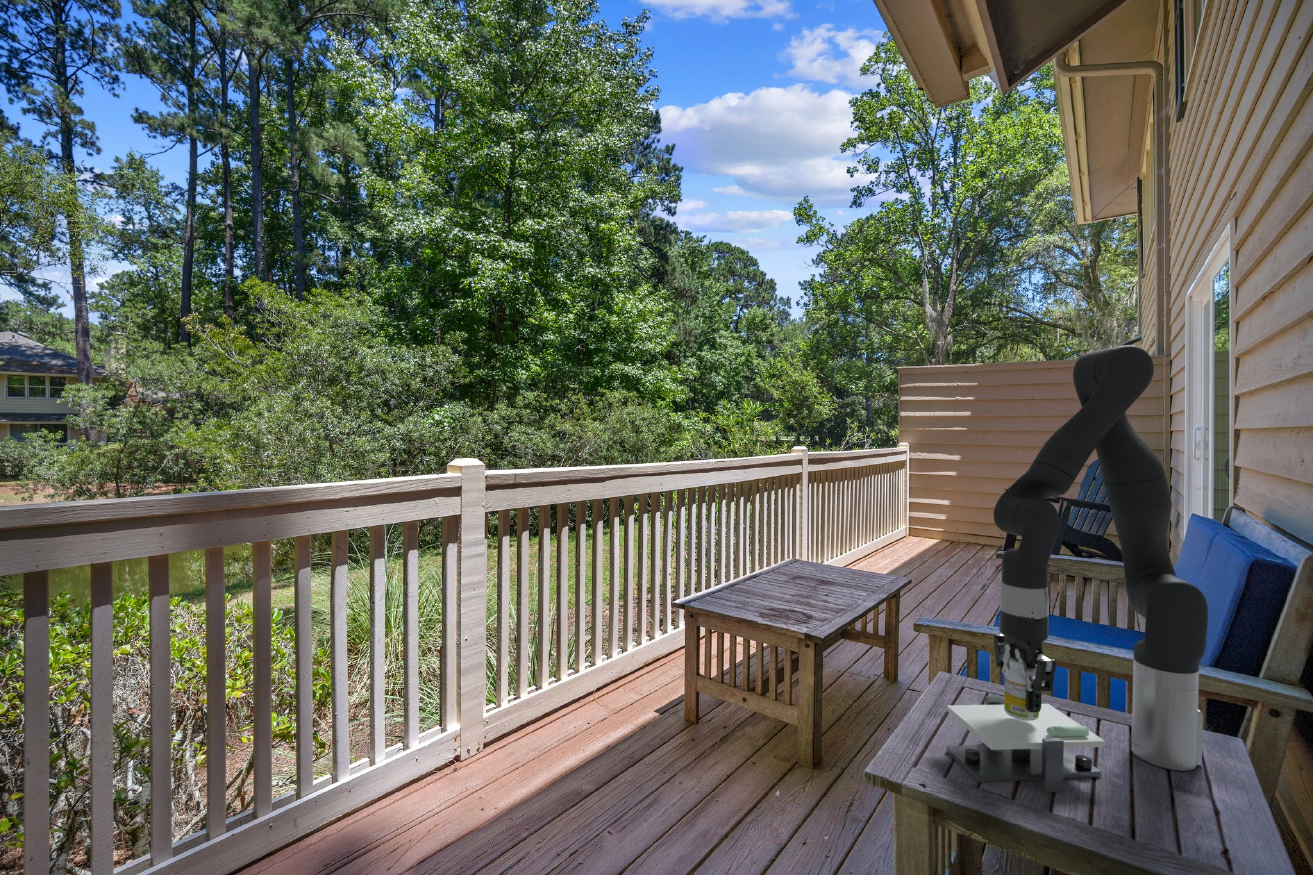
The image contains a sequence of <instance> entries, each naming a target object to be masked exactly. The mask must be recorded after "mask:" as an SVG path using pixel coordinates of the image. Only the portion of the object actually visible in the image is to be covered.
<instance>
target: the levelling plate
mask: <svg viewBox="0 0 1313 875" xmlns="http://www.w3.org/2000/svg"><path fill="white" fill-rule="evenodd" d="M946 712H947V713H949V714H950V715H951V716H952V717H953V718H954V719H955V720H957V721H958V722H959V723H960V725H962V726H963V727H965V728H966V729H967V730H968V731H969V732H970V733H971V734H972V735H974V737H976V738H977V739H978V740H979V741H980V742H982V743H983V745H986V746H988V747H989V748H990V749H991V750H1001V749H1042V738H1061V739H1062V740H1063V741H1064V748H1069V749H1072V748H1073V749H1078V748H1081V749H1082V748H1083V749H1084V748H1106V740H1104V739H1103V738H1102V737H1100V736H1098V735H1097V734H1095V733H1094V732H1092V731H1091V730H1090V729H1089V728H1088V727H1087V726H1086V725H1081V724H1080V723H1078V722H1077V721H1075V719H1074V720H1073V719H1072V718H1071V717H1069V716H1068V715H1066V714H1065V713H1063V712H1062V711H1060V710H1058V709H1056V707H1053V706H1052V705H1050V704H1049V703H1041V710H1040V712H1039V717H1038V719H1036V720H1032V721H1025V720H1020V719H1016V718H1014V717H1011V716H1009V715H1008V714H1007V713H1006V712H1005V710H1004V705H985V704H966V705H965V704H961V705H960V704H959V705H958V704H957V705H956V704H955V705H946Z"/></svg>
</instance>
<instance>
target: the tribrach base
mask: <svg viewBox="0 0 1313 875" xmlns="http://www.w3.org/2000/svg"><path fill="white" fill-rule="evenodd" d="M984 701H985V702H984V703H985V704H984V705H1004V696H1002V695H985V699H984ZM946 753H948V755H949V756H950V757H952V759H953V760H955V761H956V762H957V764H958V765H959V766H961V767H962V768H963V769H964V771H966V772H967V774H969V776H971V778H972V779H973V780H975V781H976V783H995V782H996V783H998V782H1019V781H1038V780H1039V781H1041V786H1040V787H1041V790H1042V791H1043V792H1044V793H1057V792H1059V793H1060V792H1064V780H1065V779H1066V780H1067V779H1068V780H1069V779H1088V778H1101V777H1102V771H1101V770H1100V769H1099V768H1097V767H1096V766H1094V765H1093V759H1092V758H1090V757H1089V756H1086V755H1083V754H1078V753H1077V752H1075V751H1074V750H1072V748H1064V741H1063V740H1062V739H1061V738H1042V749H1001V750H991V749H990V748H989V747H988V746H986V745H985V744H968V745H965V744H964V745H947V746H946Z"/></svg>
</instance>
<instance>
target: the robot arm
mask: <svg viewBox="0 0 1313 875" xmlns="http://www.w3.org/2000/svg"><path fill="white" fill-rule="evenodd" d="M1154 372H1155V366H1154V361H1153V359H1152V357H1151V355H1150V354H1149V353H1148V352H1147V350H1146V349H1144V348H1142V347H1140V346H1136V345H1134V344H1133V345H1131V344H1127V345H1126V344H1125V345H1118V346H1114V347H1109V348H1108V347H1107V348H1105V349H1100V350H1096V351H1095V350H1094V351H1091V352H1087V353H1085V354H1083V355H1081V356H1080V357H1079V358H1078V359H1077V360H1076V362H1075V364H1074V366H1073V371H1072V378H1073V385H1074V388H1075V392H1076V394H1077V398H1078V399H1079V400H1078V401H1079V403H1080V406H1081V408H1080V409H1079V410H1078V411H1077V412H1076V413H1075V414H1074V415H1073V416H1072V417H1071V418H1070V419H1068V420H1067V421H1066V422H1065V423H1063V424H1062V425H1061V426H1060V427H1059V428H1058V429H1057V430H1056V431H1055V432H1054V433H1053V434H1052V435H1051V436H1050V437H1049V438H1048V439H1047V440H1046V442H1044V444H1043V445H1042V447H1041V449H1040V450H1039V452H1038V454H1037V455H1036V457H1035V458H1034V459H1033V461H1032V463H1031V465H1030V466H1029V467H1028V470H1027V471H1025V472H1024V473H1023V474H1022V475H1021V476H1020V477H1018V479H1017V480H1015V482H1014V483H1012V484H1011V485H1010V486H1009V487H1008V488H1007V490H1005V491H1004V492H1003V493H1002V494H1001V496H1000V497H999V498H998V499H997V502H996V503H995V506H994V510H993V521H994V523H995V525H996V527H997V528H998V529H999V530H1000V531H1001V532H1004V533H1007V534H1010V535H1013V536H1017V537H1018V536H1019V537H1021V540H1020V543H1019V545H1018V548H1017V547H1016V548H1010V549H1007V550H1006V551H1004V552H1003V554H1002V559H1001V585H1000V590H999V621H998V622H999V624H998V625H999V626H998V629H999V632H1000V633H997V634H994V635H993V643H994V645H993V646H994V653H995V654H994V656H995V664H996V666H997V668H998V669H1001V673H1002V674H1003V675H1004V676H1005V671H1006V670H1008V669H1010V666H1009V660H1010V658H1013V659H1015V660H1017V661H1018V662H1019V667H1020V671H1021V675H1022V676H1023V677H1024V678H1025V682H1026V686H1027V689H1028V690H1026V710H1028V711H1029V712H1040V710H1041V704H1042V693H1050V692H1052V691H1053V685H1054V680H1055V679H1054V678H1055V674H1056V668H1057V662H1056V660H1055V659H1054V658H1048V657H1046V656H1045V653H1044V649H1043V643H1044V642H1045V641H1046V640H1048V639H1049V618H1050V617H1049V616H1050V615H1049V613H1050V612H1049V611H1050V609H1049V606H1050V598H1049V590H1048V579H1049V578H1048V576H1049V575H1048V574H1049V569H1048V568H1049V567H1048V565H1049V561H1050V559H1051V555H1052V553H1053V551H1054V547H1055V544H1056V540H1057V537H1058V535H1059V531H1060V525H1061V523H1060V522H1061V521H1060V515H1059V512H1058V510H1057V508H1056V507H1055V506H1054V504H1052V503H1051V502H1050V501H1048V500H1047V499H1049V498H1052V497H1059V496H1064V495H1065V494H1066V493H1067V492H1068V491H1069V490H1070V488H1071V487H1072V485H1073V483H1074V482H1075V481H1076V479H1077V477H1078V476H1079V475H1080V473H1081V471H1082V469H1083V468H1084V465H1085V464H1086V463H1087V461H1088V459H1090V457H1091V455H1092V453H1093V452H1094V450H1095V452H1096V455H1097V459H1098V462H1099V466H1100V471H1101V474H1102V480H1103V486H1104V489H1105V493H1106V499H1107V501H1108V505H1109V508H1110V512H1111V515H1112V519H1113V520H1112V521H1113V523H1114V527H1115V528H1114V529H1115V531H1116V533H1117V537H1118V542H1119V545H1120V549H1121V554H1122V564H1123V571H1124V580H1125V588H1126V595H1127V598H1128V602H1129V603H1130V605H1131V607H1132V609H1133V610H1134V611H1135V612H1137V614H1138V615H1140V616H1141V617H1143V618H1144V619H1145V625H1144V626H1145V627H1144V628H1145V630H1144V638H1143V639H1142V640H1138V641H1137V642H1135V643H1134V646H1133V658H1132V660H1133V662H1132V663H1133V666H1132V667H1133V668H1132V675H1133V677H1132V708H1131V709H1132V713H1131V751H1132V753H1133V754H1134V755H1135V756H1137V758H1139V759H1141V760H1143V761H1144V762H1147V763H1149V764H1151V765H1153V766H1157V767H1160V768H1163V769H1168V770H1173V771H1180V772H1183V771H1185V772H1186V771H1187V772H1188V771H1193V770H1195V769H1196V768H1197V766H1202V764H1203V762H1202V761H1203V731H1204V730H1203V728H1204V727H1203V726H1204V713H1203V712H1202V710H1200V709H1199V684H1200V683H1199V681H1200V679H1199V678H1200V676H1199V675H1200V671H1199V670H1200V663H1201V661H1202V660H1203V657H1204V655H1205V653H1206V646H1207V637H1208V624H1209V606H1208V602H1207V599H1206V597H1205V594H1204V593H1203V592H1202V590H1201V589H1200V588H1198V587H1197V586H1196V585H1195V584H1192V583H1190V582H1188V581H1187V580H1184V579H1182V578H1179V577H1178V576H1177V573H1176V571H1175V569H1174V566H1173V563H1172V559H1171V556H1170V554H1169V553H1170V552H1169V550H1168V543H1167V535H1168V527H1169V524H1170V519H1171V513H1172V512H1171V511H1172V496H1171V491H1170V488H1169V482H1168V479H1167V475H1166V471H1165V468H1164V466H1163V463H1162V462H1161V460H1160V458H1159V457H1158V455H1157V454H1156V453H1155V452H1154V451H1153V449H1152V448H1151V447H1150V446H1149V445H1148V444H1147V443H1146V442H1145V440H1144V439H1143V438H1142V437H1141V436H1140V435H1139V434H1138V432H1137V431H1136V430H1135V429H1134V427H1133V426H1132V424H1131V423H1130V421H1129V419H1128V417H1127V414H1126V412H1127V410H1128V409H1130V407H1132V405H1133V404H1134V403H1135V402H1136V401H1137V400H1138V399H1139V398H1140V396H1142V394H1143V393H1144V392H1145V391H1146V390H1147V388H1148V387H1149V385H1150V384H1151V382H1152V379H1153V376H1154ZM1002 655H1003V657H1002ZM1034 668H1035V671H1034V672H1029V671H1028V670H1027V669H1034ZM1032 676H1035V681H1034V684H1033V683H1032ZM1044 681H1045V682H1044ZM1003 686H1004V687H1003V688H1004V689H1005V682H1004V685H1003Z"/></svg>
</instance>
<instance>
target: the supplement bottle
mask: <svg viewBox="0 0 1313 875" xmlns="http://www.w3.org/2000/svg"><path fill="white" fill-rule="evenodd" d="M1009 666H1010V669H1008V670H1006V671H1005V675H1004V683H1005V684H1004V685H1005V688H1004V690H1003V691H1004V692H1003V693H1004V694H1003V695H1004V696H1003V698H1004V710H1005V712H1006V713H1007V714H1008V715H1009V716H1011V717H1014V718H1016V719H1020V720H1025V721H1032V720H1036V719H1038V717H1039V712H1029V711H1028V710H1026V690H1028V689H1027V686H1026V682H1025V678H1024V677H1023V676H1022V675H1021V671H1020V667H1019V662H1018V661H1017V660H1015V659H1013V658H1010V660H1009ZM1027 670H1028V671H1029V672H1035V671H1036V668H1034V669H1027ZM1034 681H1035V676H1032V683H1033V684H1034Z"/></svg>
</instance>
